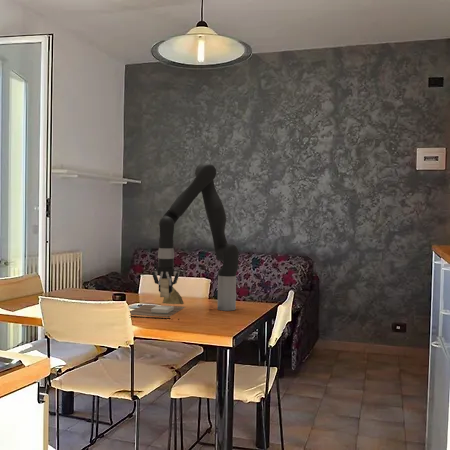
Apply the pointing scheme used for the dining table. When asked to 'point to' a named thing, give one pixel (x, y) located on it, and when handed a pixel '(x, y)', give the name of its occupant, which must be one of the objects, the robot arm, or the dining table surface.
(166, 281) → the block
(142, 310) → the board
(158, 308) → the tile
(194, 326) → the dining table surface
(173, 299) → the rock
